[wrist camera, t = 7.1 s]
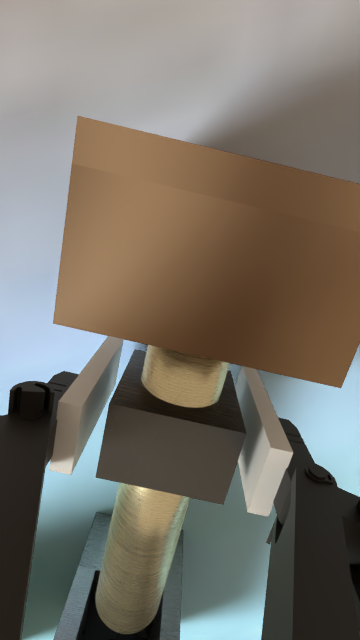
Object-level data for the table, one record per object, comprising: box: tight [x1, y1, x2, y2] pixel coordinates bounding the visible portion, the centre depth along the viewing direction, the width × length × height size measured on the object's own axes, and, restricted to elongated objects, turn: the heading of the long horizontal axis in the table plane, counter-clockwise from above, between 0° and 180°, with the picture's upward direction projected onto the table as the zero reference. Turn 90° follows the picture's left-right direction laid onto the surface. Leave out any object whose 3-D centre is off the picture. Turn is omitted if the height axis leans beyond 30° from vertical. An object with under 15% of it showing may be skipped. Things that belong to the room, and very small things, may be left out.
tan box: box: [53, 116, 360, 388], centre depth 12 cm, size 8×5×9 cm, turn 77°
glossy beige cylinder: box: [95, 345, 247, 634], centre depth 14 cm, size 5×17×5 cm, turn 167°
